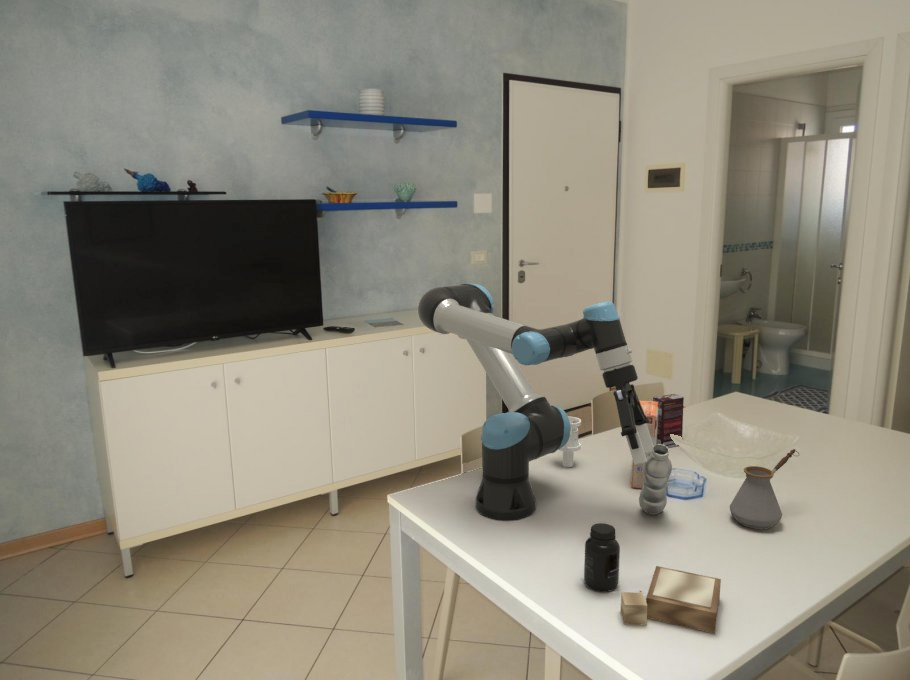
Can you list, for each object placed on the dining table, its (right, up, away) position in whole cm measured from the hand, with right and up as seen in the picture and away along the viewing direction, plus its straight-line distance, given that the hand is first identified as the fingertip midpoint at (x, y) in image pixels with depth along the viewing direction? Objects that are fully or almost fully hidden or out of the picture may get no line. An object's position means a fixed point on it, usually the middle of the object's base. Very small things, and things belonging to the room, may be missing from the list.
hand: (645, 457), depth 152 cm
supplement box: (+23, -7, +58) cm, 63 cm away
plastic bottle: (+5, -15, +13) cm, 21 cm away
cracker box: (+9, -12, +32) cm, 36 cm away
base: (0, -24, -26) cm, 35 cm away
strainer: (-10, -10, +43) cm, 46 cm away
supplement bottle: (-14, -23, -18) cm, 32 cm away
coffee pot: (+32, -16, +10) cm, 37 cm away
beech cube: (-11, -25, -29) cm, 39 cm away
